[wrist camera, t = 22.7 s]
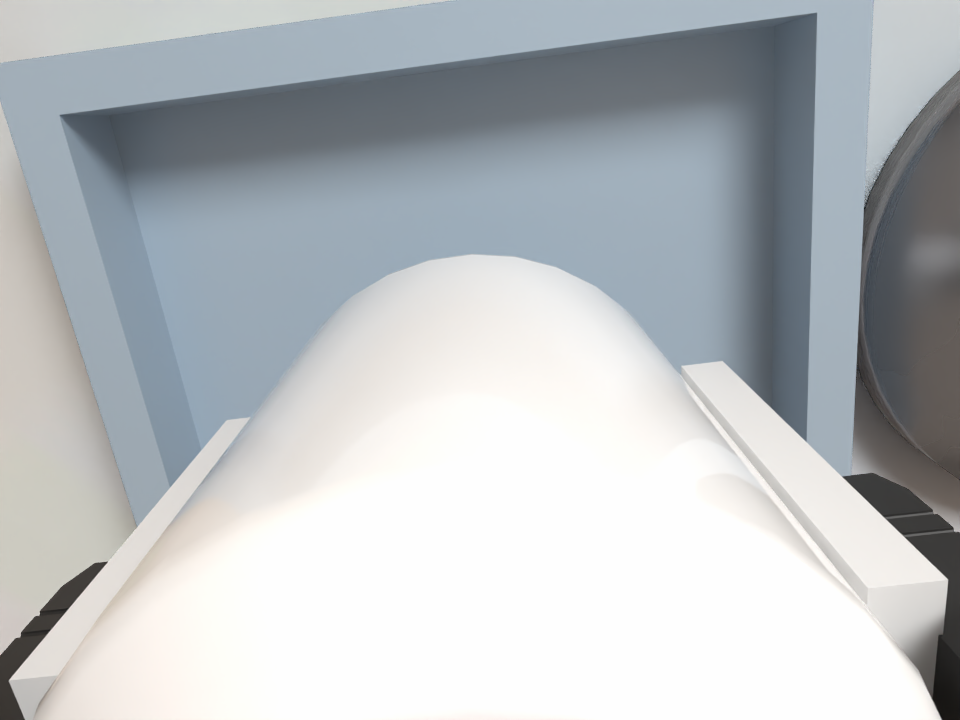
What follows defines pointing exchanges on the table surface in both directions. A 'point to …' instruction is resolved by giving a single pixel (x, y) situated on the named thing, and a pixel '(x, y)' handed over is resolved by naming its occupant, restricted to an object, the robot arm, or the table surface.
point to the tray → (452, 191)
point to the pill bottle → (485, 539)
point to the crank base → (916, 283)
